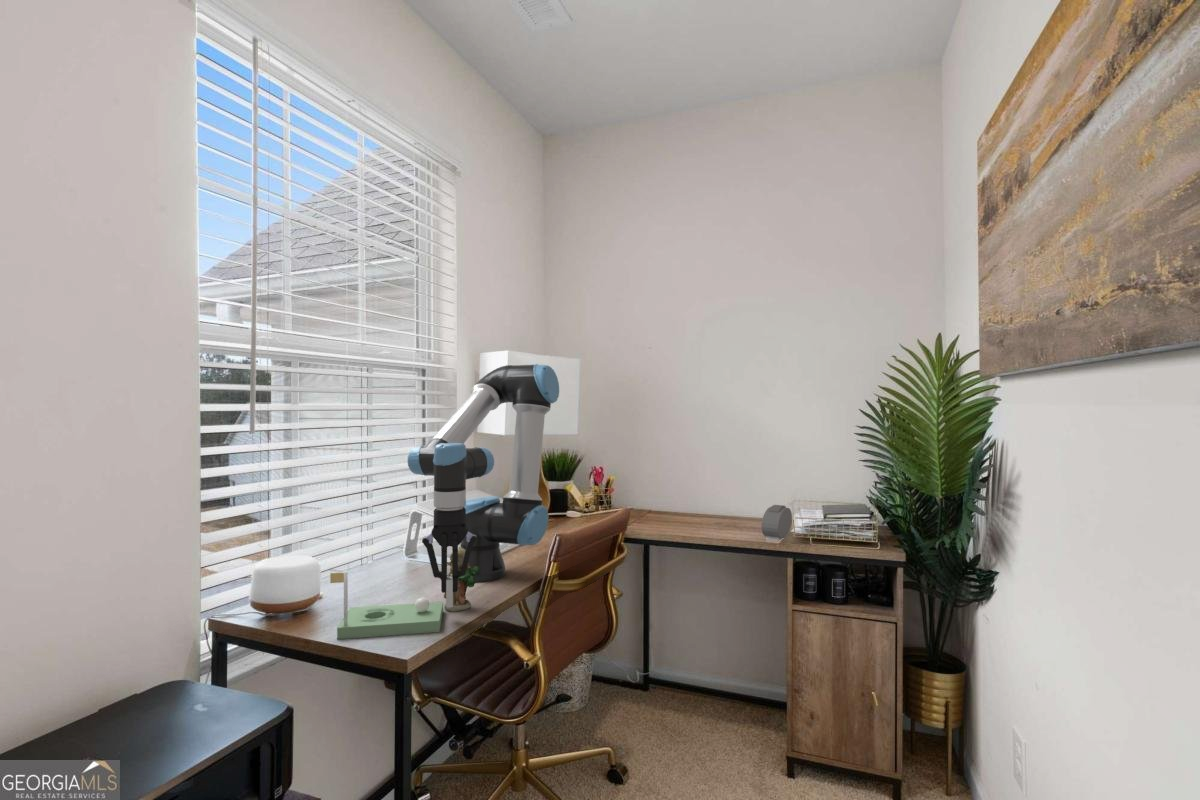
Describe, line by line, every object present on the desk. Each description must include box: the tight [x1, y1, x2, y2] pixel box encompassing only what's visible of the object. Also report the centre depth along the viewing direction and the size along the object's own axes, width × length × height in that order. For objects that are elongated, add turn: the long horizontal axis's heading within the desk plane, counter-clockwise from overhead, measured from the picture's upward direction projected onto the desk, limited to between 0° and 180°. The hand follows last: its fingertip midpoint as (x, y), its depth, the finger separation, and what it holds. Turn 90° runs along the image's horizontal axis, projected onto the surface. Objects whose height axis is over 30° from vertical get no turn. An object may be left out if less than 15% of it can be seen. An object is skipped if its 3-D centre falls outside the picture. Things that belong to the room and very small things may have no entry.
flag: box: [329, 571, 349, 626], centre depth 134 cm, size 4×1×12 cm, turn 101°
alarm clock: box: [760, 504, 793, 541], centre depth 228 cm, size 23×6×13 cm, turn 150°
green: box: [336, 601, 444, 640], centre depth 141 cm, size 22×13×2 cm, turn 101°
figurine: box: [443, 546, 479, 613], centre depth 152 cm, size 9×8×15 cm
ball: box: [414, 597, 430, 613], centre depth 142 cm, size 3×3×3 cm
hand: (449, 605), depth 143 cm, fingers closed
